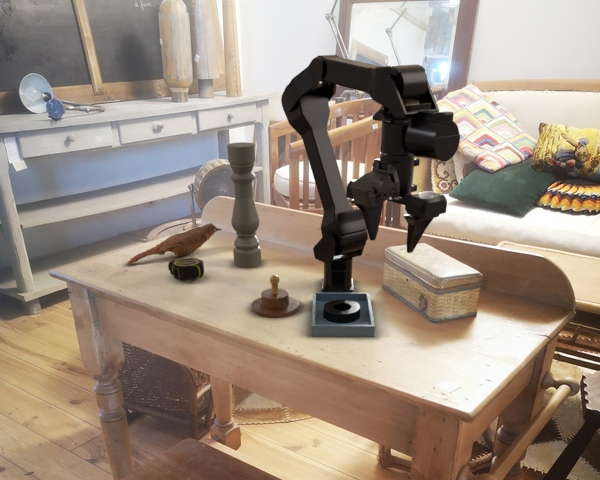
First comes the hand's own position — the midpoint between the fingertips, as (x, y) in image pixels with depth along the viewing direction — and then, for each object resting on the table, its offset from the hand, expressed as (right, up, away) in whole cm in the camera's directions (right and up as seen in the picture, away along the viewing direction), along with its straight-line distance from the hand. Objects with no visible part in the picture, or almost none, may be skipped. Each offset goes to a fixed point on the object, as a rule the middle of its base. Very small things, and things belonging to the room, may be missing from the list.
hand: (390, 246), depth 106 cm
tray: (-9, -13, +3) cm, 15 cm away
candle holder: (-28, +3, +29) cm, 40 cm away
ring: (-9, -12, +3) cm, 15 cm away
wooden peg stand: (-21, -10, +7) cm, 24 cm away
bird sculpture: (-45, +7, +34) cm, 57 cm away
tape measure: (-41, -1, +22) cm, 46 cm away
